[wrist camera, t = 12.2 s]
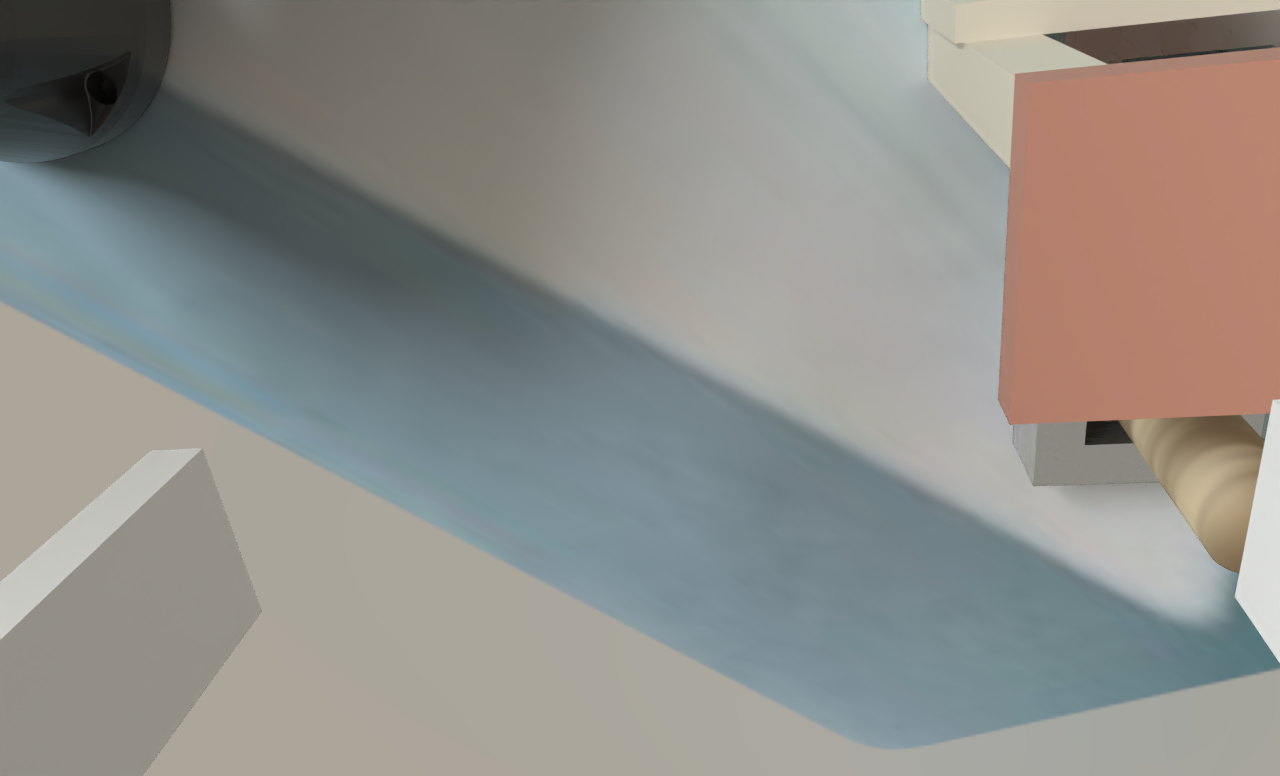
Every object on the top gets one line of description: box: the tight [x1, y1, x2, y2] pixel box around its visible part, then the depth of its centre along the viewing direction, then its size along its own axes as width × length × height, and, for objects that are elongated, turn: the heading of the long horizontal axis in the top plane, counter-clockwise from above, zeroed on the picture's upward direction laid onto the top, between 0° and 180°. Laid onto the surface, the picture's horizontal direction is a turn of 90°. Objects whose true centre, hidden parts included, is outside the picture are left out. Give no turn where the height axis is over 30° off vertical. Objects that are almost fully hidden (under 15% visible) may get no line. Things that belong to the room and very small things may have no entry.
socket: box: [1013, 414, 1265, 486], centre depth 41 cm, size 9×9×4 cm
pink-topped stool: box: [921, 0, 1280, 425], centre depth 30 cm, size 18×10×18 cm, turn 97°
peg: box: [1118, 415, 1265, 573], centre depth 37 cm, size 4×4×14 cm
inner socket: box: [1042, 9, 1280, 64], centre depth 37 cm, size 9×9×4 cm
